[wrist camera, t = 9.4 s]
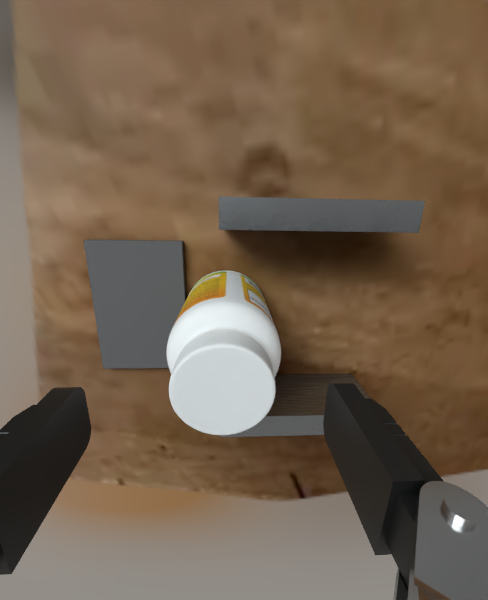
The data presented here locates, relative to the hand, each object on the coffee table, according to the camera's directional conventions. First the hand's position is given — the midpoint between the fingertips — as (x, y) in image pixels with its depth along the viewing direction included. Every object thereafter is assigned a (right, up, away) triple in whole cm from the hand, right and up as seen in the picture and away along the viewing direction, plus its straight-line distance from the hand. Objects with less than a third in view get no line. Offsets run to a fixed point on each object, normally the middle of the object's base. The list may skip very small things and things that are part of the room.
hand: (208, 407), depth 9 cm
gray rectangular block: (-6, +3, +10) cm, 12 cm away
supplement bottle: (0, +3, +10) cm, 11 cm away
